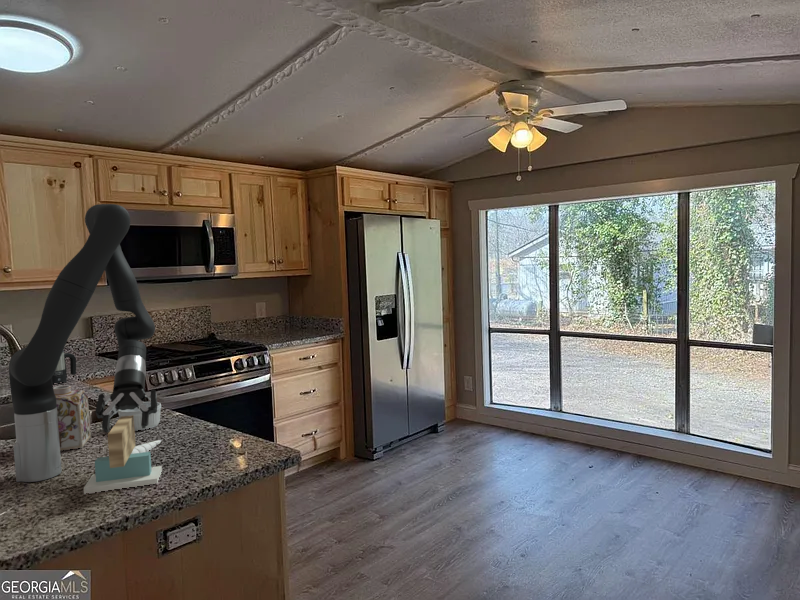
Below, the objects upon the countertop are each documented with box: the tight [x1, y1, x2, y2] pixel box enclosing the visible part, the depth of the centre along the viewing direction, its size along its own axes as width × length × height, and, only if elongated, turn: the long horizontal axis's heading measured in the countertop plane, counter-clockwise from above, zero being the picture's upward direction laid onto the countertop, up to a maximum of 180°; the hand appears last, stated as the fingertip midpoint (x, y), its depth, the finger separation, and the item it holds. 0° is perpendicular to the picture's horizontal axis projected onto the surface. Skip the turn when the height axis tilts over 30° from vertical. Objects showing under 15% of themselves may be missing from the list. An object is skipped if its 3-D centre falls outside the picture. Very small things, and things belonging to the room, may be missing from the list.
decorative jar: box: [53, 384, 92, 452], centre depth 169 cm, size 12×12×18 cm
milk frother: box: [52, 350, 77, 383], centre depth 268 cm, size 14×16×15 cm
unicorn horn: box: [131, 439, 163, 454], centre depth 159 cm, size 5×24×5 cm, turn 171°
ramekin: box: [117, 401, 162, 432], centre depth 187 cm, size 13×13×7 cm
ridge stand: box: [83, 451, 163, 495], centre depth 138 cm, size 16×9×6 cm, turn 106°
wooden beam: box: [107, 415, 137, 468], centre depth 138 cm, size 16×3×8 cm, turn 16°
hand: (125, 428), depth 142 cm, fingers open, 8 cm apart
